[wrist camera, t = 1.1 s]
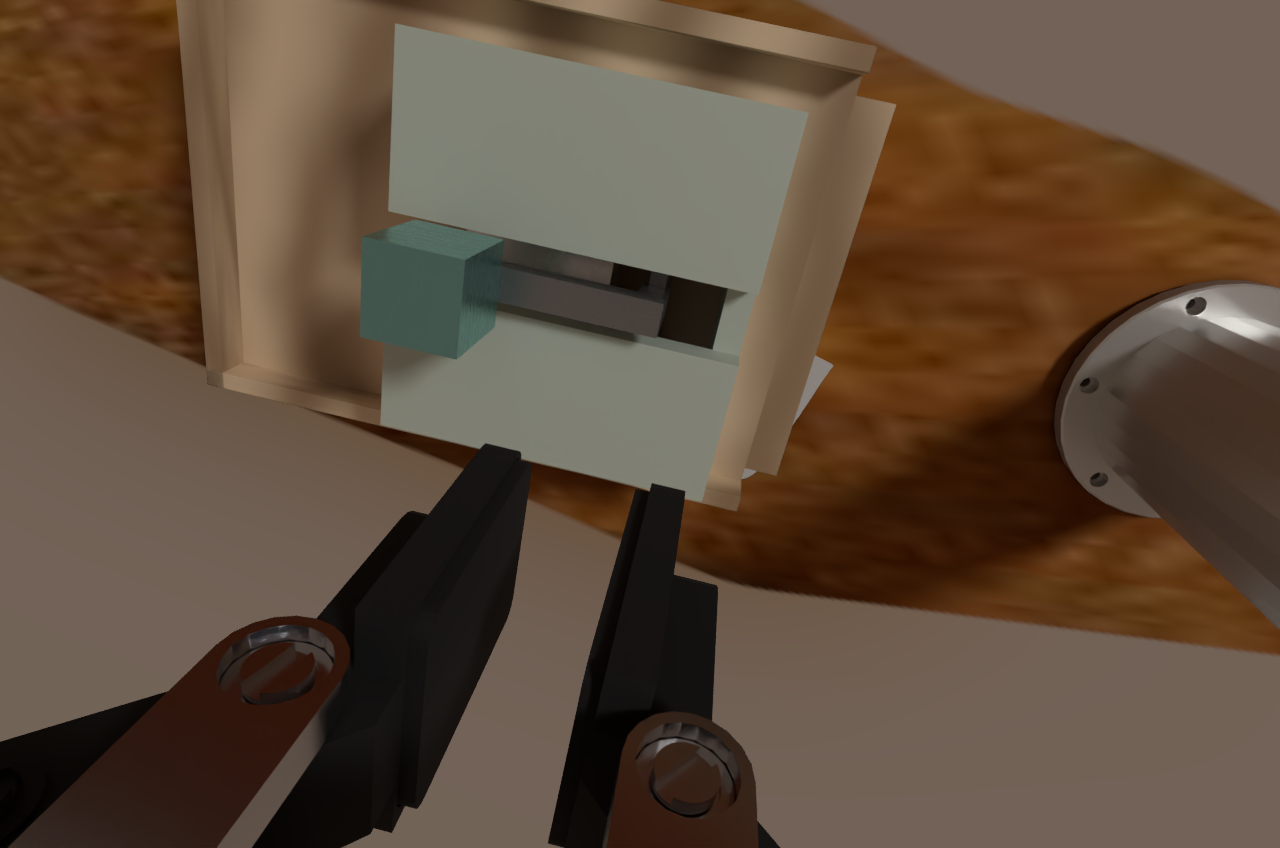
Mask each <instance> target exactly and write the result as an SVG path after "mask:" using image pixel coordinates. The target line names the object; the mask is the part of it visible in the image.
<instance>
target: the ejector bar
mask: <svg viewBox="0 0 1280 848" xmlns="http://www.w3.org/2000/svg"><path fill="white" fill-rule="evenodd" d="M503 247H504V239H499V238H495V237H491V236H486V235H482V234H477V233H473V232H469V231H464V230H460V229H455V228H451V227H447V226H442V225H438V224H433V223H429V222H425V221H420V220H416V219H415V220H412V221H409V222H406V223H403V224H399V225H396V226H393V227H390V228H387V229H383V230H380V231H377V232H374V233H371V234H368V235H364V236H362V258H361V306H360V337H362V338H366V339H371V340H375V341H379V342H383V343H388V344H392V345H396V346H400V347H405V348H409V349H413V350H417V351H422V352H426V353H430V354H434V355H439V356H443V357H447V358H451V359H456V360H457V359H458V358H459V357H460V356H462V355H463V354H464V353H465V352H466V351H467V350H469V349H470V348H471V347H472V346H473V345H474V344H476V343H477V342H478V341H479V340H480V339H482V338H483V337H484V336H485V335H486V334H487V333H489V332H490V331H491V330H492V329H493V328H494V327H495V321H496V312H497V302H500V303H505V304H509V305H513V306H518V307H522V308H526V309H531V310H535V311H539V312H544V313H548V314H552V315H556V316H561V317H565V318H569V319H574V320H578V321H582V322H587V323H591V324H595V325H600V326H604V327H608V328H613V329H617V330H621V331H626V332H630V333H634V334H639V335H643V336H647V337H652V338H657V337H659V336H660V331H661V327H662V322H663V319H664V316H665V313H666V308H667V303H668V299H669V294H670V290H671V288H670V285H671V281H672V275H667V274H663V273H658V272H654V271H652V273H651V278H650V283H645V282H644V283H643V285H642V287H641V288H640V290H639V292H637V291H632V290H628V289H623V288H619V287H615V286H610V285H606V284H602V283H597V282H593V281H588V280H584V279H580V278H575V277H571V276H567V275H562V274H558V273H553V272H549V271H545V270H540V269H536V268H532V267H527V266H523V265H518V264H514V263H510V262H505V261H502V257H503Z"/></svg>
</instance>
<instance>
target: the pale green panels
mask: <svg viewBox="0 0 1280 848" xmlns="http://www.w3.org/2000/svg"><path fill="white" fill-rule="evenodd" d="M808 114H809V113H808V112H803V111H799V110H794V109H790V108H785V107H780V106H776V105H771V104H766V103H762V102H757V101H753V100H748V99H743V98H739V97H734V96H729V95H725V94H720V93H715V92H711V91H706V90H702V89H697V88H692V87H688V86H683V85H678V84H674V83H669V82H665V81H660V80H655V79H651V78H646V77H641V76H637V75H632V74H627V73H623V72H618V71H614V70H609V69H604V68H600V67H595V66H590V65H586V64H581V63H577V62H572V61H567V60H563V59H558V58H553V57H549V56H544V55H539V54H535V53H530V52H526V51H521V50H516V49H512V48H507V47H502V46H498V45H493V44H489V43H484V42H479V41H475V40H470V39H465V38H461V37H456V36H451V35H447V34H442V33H438V32H433V31H428V30H424V29H419V28H414V27H410V26H405V25H401V24H396V23H395V39H394V67H393V94H392V122H391V149H390V177H389V204H388V211H390V212H394V213H399V214H403V215H408V216H412V217H416V218H421V219H425V220H430V221H434V222H438V223H443V224H447V225H452V226H456V227H460V228H465V229H469V230H474V231H478V232H482V233H487V234H491V235H496V236H500V237H504V238H509V239H513V240H518V241H522V242H526V243H531V244H535V245H540V246H544V247H548V248H553V249H557V250H562V251H566V252H570V253H575V254H579V255H584V256H588V257H592V258H597V259H601V260H606V261H610V262H614V263H619V264H623V265H628V266H632V267H636V268H641V269H645V270H650V271H654V272H658V273H663V274H667V275H672V276H676V277H680V278H685V279H689V280H694V281H698V282H702V283H707V284H711V285H716V286H720V287H724V289H723V293H722V297H721V301H720V305H719V309H718V313H717V317H716V321H715V325H714V329H713V333H712V337H711V341H710V345H709V349H708V348H703V347H699V346H695V345H690V344H686V343H682V342H677V341H673V340H669V339H664V338H660V337H657V338H652V337H647V336H643V335H639V334H634V333H630V332H626V331H621V330H617V329H613V328H608V327H604V326H600V325H595V324H591V323H587V322H582V321H578V320H574V319H569V318H565V317H561V316H556V315H552V314H548V313H544V312H539V311H535V310H531V309H526V308H522V307H518V306H513V305H509V304H505V303H500V302H497V312H496V321H495V327H494V328H493V329H492V330H491V331H490V332H489V333H487V334H486V335H485V336H484V337H483V338H482V339H480V340H479V341H478V342H477V343H476V344H474V345H473V346H472V347H471V348H470V349H469V350H467V351H466V352H465V353H464V354H463V355H462V356H460V357H459V358H458V359H457V360H456V359H451V358H447V357H443V356H439V355H434V354H430V353H426V352H422V351H417V350H413V349H409V348H405V347H400V346H396V345H392V344H388V343H383V369H382V396H381V423H380V425H383V426H387V427H392V428H396V429H400V430H404V431H408V432H412V433H417V434H421V435H425V436H429V437H433V438H437V439H442V440H446V441H450V442H454V443H458V444H462V445H467V446H471V447H475V448H479V449H480V448H481V447H482V446H483V445H484V444H485V443H487V444H492V445H496V446H500V447H504V448H508V449H512V450H517V451H520V452H521V459H525V460H529V461H533V462H537V463H542V464H546V465H550V466H554V467H558V468H562V469H567V470H571V471H575V472H579V473H583V474H587V475H592V476H596V477H600V478H604V479H608V480H612V481H617V482H621V483H625V484H629V485H633V486H637V487H642V488H646V489H650V488H651V484H652V483H654V484H658V485H663V486H667V487H671V488H675V489H679V490H683V491H685V498H687V499H692V500H696V501H700V502H702V499H703V496H704V492H705V488H706V485H707V481H708V478H709V474H710V470H711V467H712V463H713V459H714V456H715V452H716V448H717V445H718V441H719V438H720V434H721V430H722V427H723V423H724V419H725V416H726V412H727V408H728V405H729V401H730V398H731V394H732V390H733V387H734V383H735V379H736V376H737V372H738V368H739V354H740V351H741V347H742V343H743V340H744V336H745V332H746V329H747V325H748V321H749V318H750V314H751V310H752V307H753V303H754V299H755V296H756V295H759V292H760V288H761V285H762V281H763V278H764V274H765V270H766V267H767V263H768V259H769V256H770V252H771V248H772V245H773V241H774V238H775V234H776V230H777V227H778V223H779V219H780V216H781V212H782V208H783V205H784V201H785V198H786V194H787V190H788V187H789V183H790V179H791V176H792V172H793V168H794V165H795V161H796V158H797V154H798V150H799V147H800V143H801V139H802V136H803V132H804V128H805V125H806V121H807V118H808Z"/></svg>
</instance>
